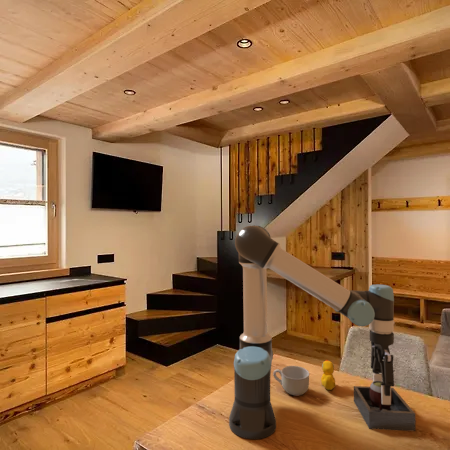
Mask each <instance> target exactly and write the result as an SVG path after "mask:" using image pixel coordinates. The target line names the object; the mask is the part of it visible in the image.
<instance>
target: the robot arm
mask: <svg viewBox="0 0 450 450" xmlns="http://www.w3.org/2000/svg"><path fill="white" fill-rule="evenodd" d="M234 246H235V249H236V252H238V263H239V264H240V265H241V267H242V281H243V282H242V285H243V286H242V288H243V289H242V292H243V296H242V299H243V303H242V304H243V333H241V334H240V336H239V349H238V350H237V352H236V353H235V354H234V360H233V372H234V376H233V377H234V381H233V382H234V389H233V390H234V391H233V392H234V400H233V401H234V402H233V404H232V406H231V411H230V413H229V416H228V417H229V419H228V423H229V424H228V426H229V429H230V430H231V432H232V433H234V435H236V436H238V437H241V438H243V439H248V440H261V439H265V438H267V437H270V436H271V435H273V434H274V432H275V431H276V428H277V418H276V415H275V412H274V411H275V410H274V408H273V405H272V402H271V373H272V362H273V359H274V358H273V357H274V353H273V352H274V351H273V346H272V345H273V344H272V343H273V342H272V341H273V340H272V336H271V335H270V333H268V293H267V292H268V287H267V286H268V285H267V283H268V282H267V281H268V279H267V277H268V276H267V269H269V270H270V271H273V273H275V274H277V275H279V276H280V277H281V278H284V279H285V280H287V281H289V282H290V283H292V284H293V285H295V286H296V287H298V288H299V289H301V290H303V291H305V292H306V293H308V294H309V295H311V296H312V297H314V298H316V299H317V300H319V301H320V302H322V303H324V304H325V305H327V306H329V307H330V308H332V309H333V310H334V311H335V312H337V313H339V314H341V315H343V316H344V317H346V318H347V319H348V320H349V321H350V322H351V323H352V324H354V325H356V326H359V327H366V326H369V327H368V329H370V330H369V341H370V346H371V347H370V348H371V351H370V352H371V354H370V368H371V369H372V371H371V372H372V373H373V374H372V376H373V377H372V382H374V381H382V382H383V383H380V384H381V403H382V404H383V405H391V388H392V387H394V386H395V379H394V378H395V377H394V374H395V373H394V372H393V370H394V355H393V354H391V351H390V348H389V347H390V346H392V345H394V343H395V340H394V339H395V334H394V331H395V328H394V327H395V323H396V321H395V320H394V319H395V318H394V314H395V313H394V307H395V306H394V305H395V298H394V297H395V296H394V295H395V293H394V289H393V288H392V286H390V285H388V284H387V285H386V284H378V283H377V284H371V285H369V289H368V290H351V289H350V290H349V289H347V288H346V287H344V286H343V285H341V284H339V283H338V282H336V281H334V280H333V279H331V278H330V277H328V276H326V275H325V274H323V273H322V272H320V271H318V270H317V269H315V268H313V267H312V266H311V265H308V264H307V263H305V262H304V261H302V260H301V259H299V258H297V257H295V255H292V254H291V253H289V252H288V251H286V250H284V249H283V248H281V245H280V243H279V242H277V241H275V240H274V239H272V238H271V235H270V232H269V231H268V230H267V229H266V228H264V227H263V226H261V225H254V224H253V225H246V226H244V227H243V228H241V229H240V230H239V231H238V232H237V234H236V236H235V240H234Z"/></svg>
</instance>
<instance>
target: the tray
mask: <svg viewBox="0 0 450 450" xmlns="http://www.w3.org/2000/svg"><path fill="white" fill-rule="evenodd" d="M369 391H370V386H361V385H360V386H359V385H353V402H354V405H355V407H356V408H357V409H358V411H359V413H360V415H361V417H362V419H363V421H364V422H365V423H366V425H367V428H368V429H369V430H383V431H384V430H385V431H387V430H388V431H404V432H405V431H406V432H416V412H415V411H414V410H413V409H412V408H411V407H410V405H408V403H407V402H406V401H405V400H404V398H403V397H401V395H400V393H399V392H398V391H397V390H396V389H395V388H394V387H391V391H392V403H391V406H390V408H391V410H386V409H382V410H379V408H377V407H372V406H371V400H370V393H369Z"/></svg>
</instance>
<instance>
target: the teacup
mask: <svg viewBox="0 0 450 450" xmlns="http://www.w3.org/2000/svg"><path fill="white" fill-rule="evenodd" d="M277 373H278V374H279V376H280V377H281V378H279V377H278V376H277ZM272 375H273V378H274V379H275V380H276V381H277V382H278V383H279V384H280V385H281V386H282V388H283V390H284V391H285V392H286V393H287V394H289V395H291V396H297V397H298V396H302V395H304V394H305V393H306V392H308V390H309V385H310V371H309V370H307V369H306V368H305V367H303V366H299V365H288V366H285V367H283V368H282V369H279V368H276V369H274V370H273V374H272Z"/></svg>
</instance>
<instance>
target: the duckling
mask: <svg viewBox="0 0 450 450" xmlns="http://www.w3.org/2000/svg"><path fill="white" fill-rule="evenodd" d="M321 370H322V372H323V373H322V375H321V378H320V382H321V386H323V388H324V389H326V390H327V391H331V390H333V389H334V388H336V379H335V377H334V375H333V374H334V372H335V367H334V364H333V362H332V361H330V360H328V359H325V360H324V361H323V362H322V365H321Z"/></svg>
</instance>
